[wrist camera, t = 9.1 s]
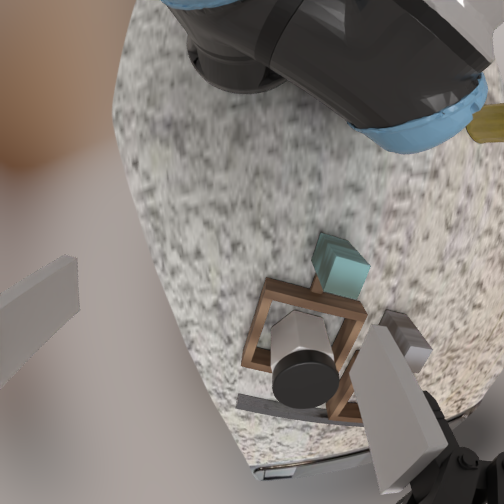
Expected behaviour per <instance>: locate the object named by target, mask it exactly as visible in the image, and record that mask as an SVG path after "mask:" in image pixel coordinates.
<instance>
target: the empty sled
mask: <svg viewBox="0 0 504 504" xmlns="http://www.w3.org/2000/svg"><path fill="white" fill-rule="evenodd" d="M379 326H385V327H387V328H388V330H389V332H390V333H391V335H392V337H393V339H394V340H395V342H396V344H397V346H398V347H399V349H400V351H401V353H402V354H403V356H404V358H405V360H406V362H407V363H408V365H409V367H410V369H411V371H412V372H413V373H419V372H420V370H421V369H422V367H423V366H424V364H425V362H426V361H427V359H428V357H429V356H430V354H431V352H432V351H433V349H432V348H431V346H430V345H429V344H428V342H427V341H426V340H425V338H424V337H423V336H422V334H421V333H420V332H419V330H418V329H417V328H416V326H415V325H414V324H413V322H412V321H411V320H410V318H409V317H408V316H407V315H406V314H402V313H398V312H393V311H389V310H386V312H385V314H384V316H383V318H382V320H381V322H380V324H379ZM358 353H359V351H357V350H356V352H355V354H354V356H353V358H352V359H351V361H350V363H349V365H348V367H347V369H346V370H345V372H344V374H343V376H342V378H341V379H340V381H339V387H338V390H337V392H336V393H335V395H334V396H333V397H332V398H331V399H330V400H328V402H327V403H326V409H327V414H328V420H333V421H343V422H355V423H363V421H362V417H361V413H360V410H359V406H358V404H356V403H347V402H348V400H349V398H350V397H351V395H352V394H353V392H354V389H353V385H352V382H351V378H350V375H349V372H350V370H351V368H352V366H353V364H354V362H355V360H356V358H357V355H358Z"/></svg>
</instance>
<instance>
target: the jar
mask: <svg viewBox="0 0 504 504" xmlns="http://www.w3.org/2000/svg"><path fill="white" fill-rule="evenodd" d="M271 369H272V373H273V375H272V389H273V393H274V396H275V397H276V399H277V400H278V401H279V402H280V403H282V404H283V405H285V406H288V407H291V408H295V409H309V408H314V407H317V406H320V405H322V404H324V403H326V402H327V401H328V400H330V399H331V398H332V397H333V396H334V395H335V393H336V392H337V390H338V387H339V373H338V370H337V368H336V365H335V363H334V355H333V351H332V348H331V344H330V341H329V337H328V334H327V331H326V327H325V324H324V321H323V318H322V317H318V316H314V315H310V314H306V313H303V312H299V311H295V310H294V311H292V312H291V313H290V314H289V315H287V316H286V317H285V318H283V319H282V320H281V321H280V322H278V323H277V324H276V325H274V326H273V327H272V328H271Z"/></svg>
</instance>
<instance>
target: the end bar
mask: <svg viewBox="0 0 504 504" xmlns="http://www.w3.org/2000/svg"><path fill="white" fill-rule="evenodd" d="M236 408H237V409H241V410H246V411H251V412H255V413H260V414H266V415H271V416H276V417H282V418H288V419H295V420H301V421H309V422H316V423H325V424H334V425H345V426H358V427H364V424H363V423H355V422H343V421H333V420H328V414H327V409H319V408H309V409H295V408H291V407H288V406H285V405H283V404H282V403H280V402H276V401H271V400H266V399H261V398H257V397H252V396H247V395H243V394H239V395H238V397H237V402H236Z"/></svg>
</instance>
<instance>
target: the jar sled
mask: <svg viewBox="0 0 504 504" xmlns="http://www.w3.org/2000/svg"><path fill="white" fill-rule="evenodd" d="M311 261H312V263H313V266H314V268H315V271H316V274H315V277H314V280H313V282H312V285H311V288H310V289H309V288H305V287H301V286H297V285H293V284H289V283H286V282H282V281H278V280H274V279H271V278H267V277H266V280H265V283H264V286H263V289H262V292H261V296H260V299H259V302H258V305H257V308H256V311H255V315H254V318H253V321H252V324H251V327H250V330H249V333H248V337H247V340H246V343H245V346H244V349H243V354H242V361H241V366H242V367H246V368H251V369H255V370H259V371H264V372H268V373H272V369H271V351H269V350H265V349H261V348H257V347H256V346H257V343H258V340H259V337H260V335H261V332H262V329H263V326H264V323H265V320H266V317H267V314H268V311H269V308H270V305H271V302H272V300H274V301H278V302H282V303H286V304H290V305H294V306H298V307H302V308H306V309H310V310H314V311H318V312H323V313H327V314H331V315H335V316H339V317H344V318H345V320H344V322H343V324H342V326H341V329H340V331H339V333H338V335H337V337H336V339H335V341H334V344H333V346H332V351H333V355H334V363H335V365H336V368H337V370H338V373H339V371H340V369H341V367H342V365H343V364H344V362H345V360H346V358H347V356H348V354H349V352H350V350H351V348H352V346H353V344H354V342H355V340H356V338H357V336H358V334H359V332H360V330H361V328H362V326H363V324H364V322H365V320H366V318H367V315H368V314H367V312H366V311H365V309H364V307H363V306H362V304H361V302H359V301H355V300H351V299H347V298H343V297H340V296H344V297H348V298H352V299H356V300H357V298H358V296H359V294H360V291H361V289H362V287H363V284H364V282H365V279H366V277H367V274H368V272H369V269H370V267H371V266H370V265H369V264H368V262H367V261H366V260H365V259H364V258H363V257H362V256H361V255H360V253H359V252H358V251H357V250H356V249H355V248H354V247H353V246H352V245H351V244H350V242H349V241H347V240H344V239H340V238H337V237H334V236H330V235H327V234H324V233H320V236H319V239H318V242H317V245H316V248H315V251H314V254H313V257H312V260H311ZM323 291H325V292H329V293H332V294H336V295H340V296H336V295H332V294H328V293H324V292H323Z"/></svg>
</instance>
